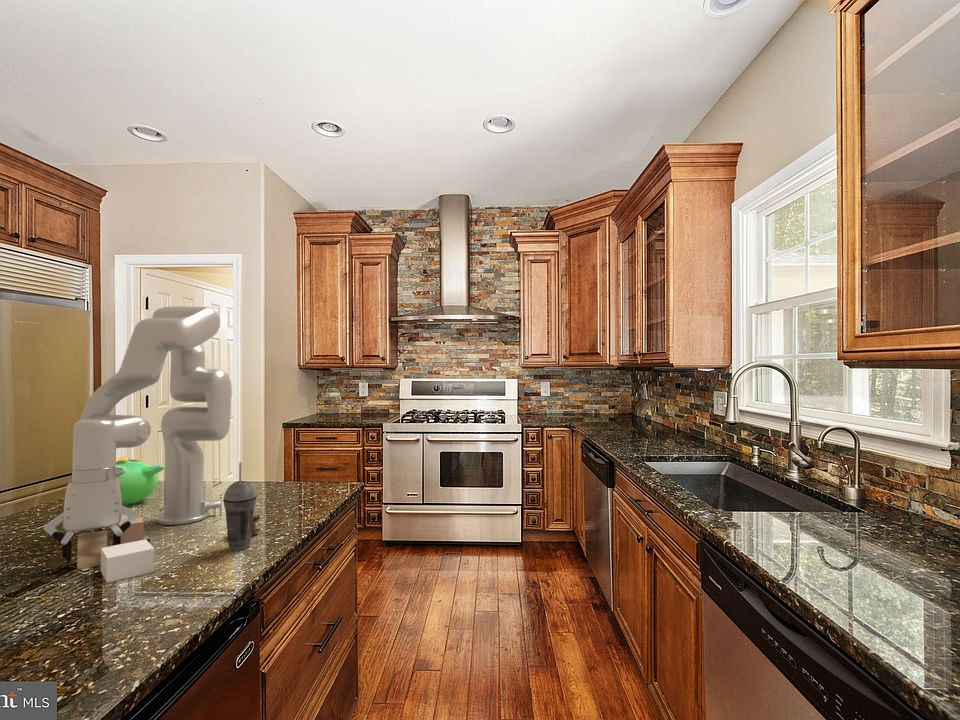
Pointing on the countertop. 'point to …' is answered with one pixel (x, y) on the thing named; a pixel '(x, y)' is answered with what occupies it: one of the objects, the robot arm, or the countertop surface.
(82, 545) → the oak block
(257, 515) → the mushroom
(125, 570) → the white block
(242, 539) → the beverage cup
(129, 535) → the terracotta block
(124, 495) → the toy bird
